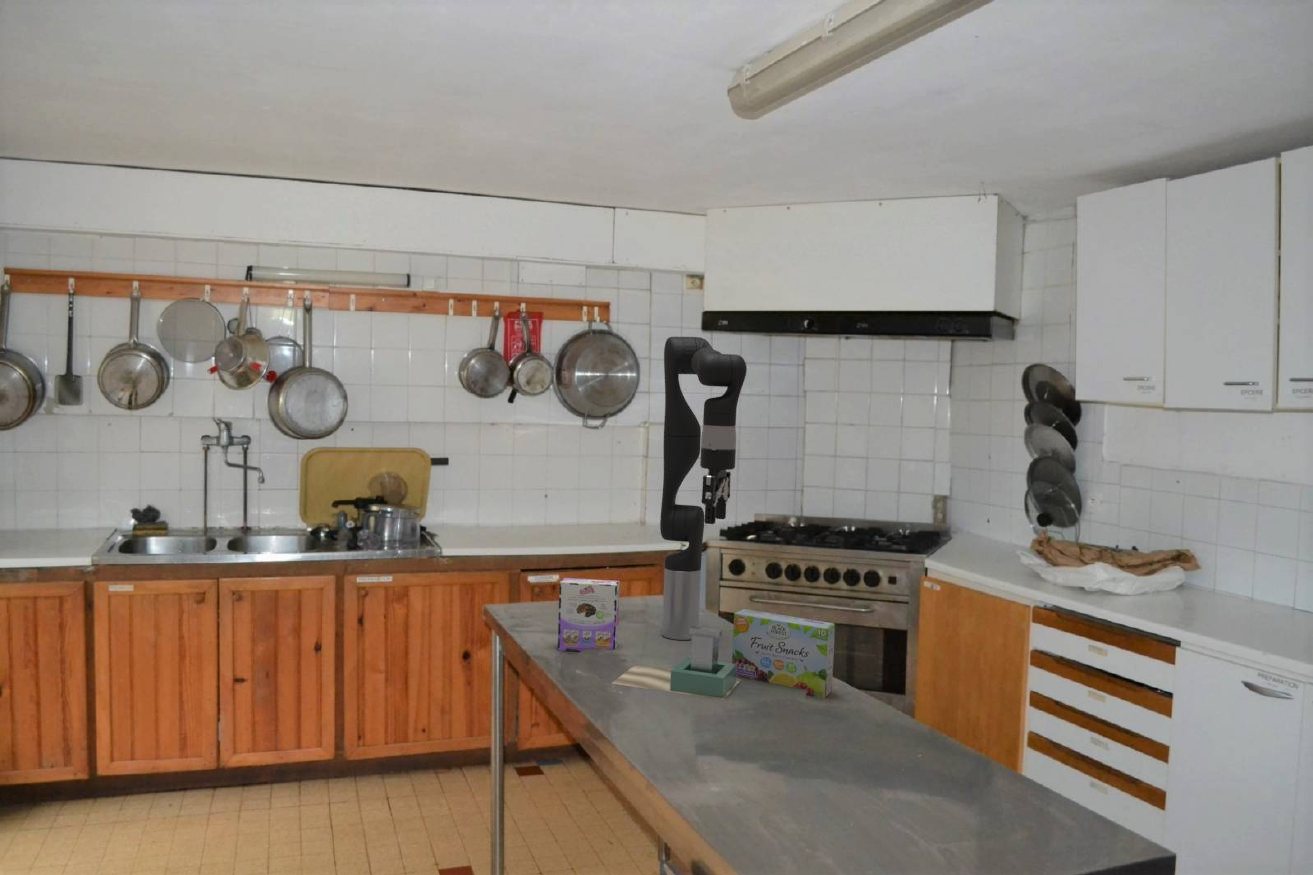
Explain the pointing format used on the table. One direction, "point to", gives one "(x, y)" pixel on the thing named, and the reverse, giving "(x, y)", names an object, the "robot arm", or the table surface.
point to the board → (654, 680)
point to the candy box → (588, 614)
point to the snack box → (784, 650)
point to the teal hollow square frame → (703, 679)
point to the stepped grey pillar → (704, 649)
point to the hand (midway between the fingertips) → (715, 521)
